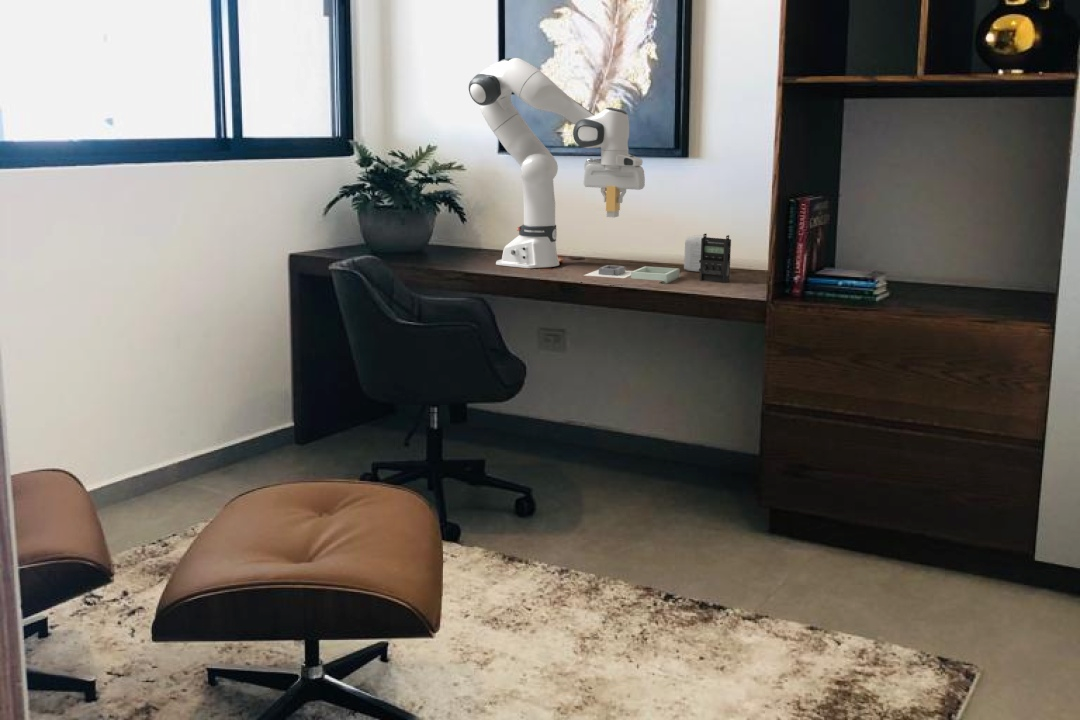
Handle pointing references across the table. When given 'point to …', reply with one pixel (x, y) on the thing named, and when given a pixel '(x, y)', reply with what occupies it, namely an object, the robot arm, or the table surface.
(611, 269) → the panel
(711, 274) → the geiger counter
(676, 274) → the parts tray
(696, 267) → the photo printer
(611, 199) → the block
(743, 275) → the table surface
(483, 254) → the table surface
